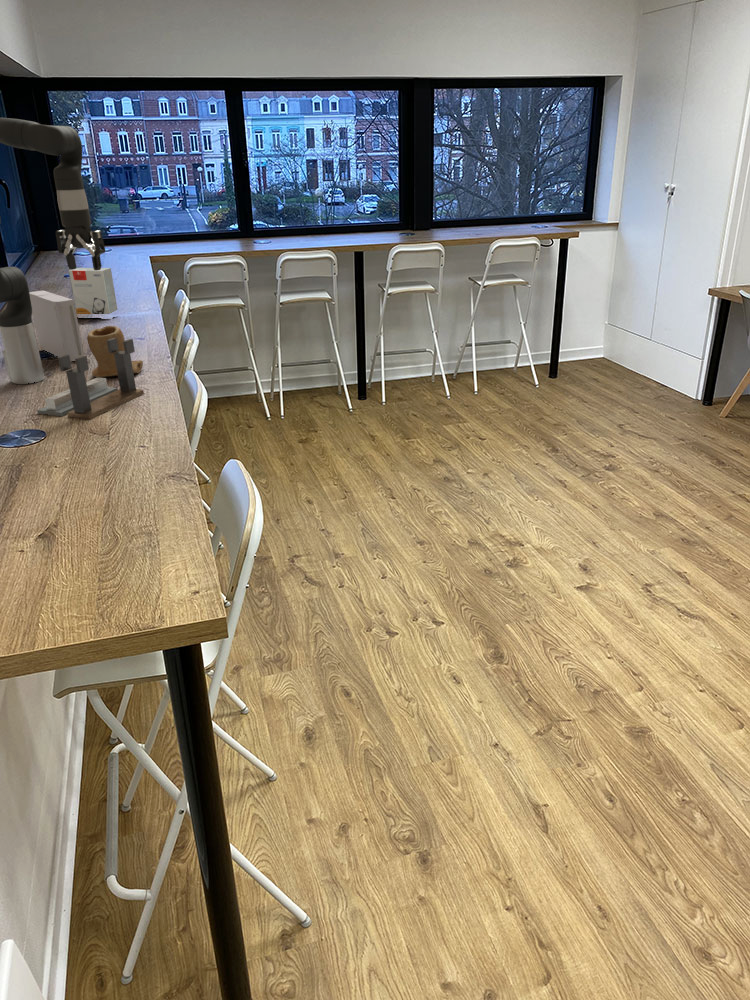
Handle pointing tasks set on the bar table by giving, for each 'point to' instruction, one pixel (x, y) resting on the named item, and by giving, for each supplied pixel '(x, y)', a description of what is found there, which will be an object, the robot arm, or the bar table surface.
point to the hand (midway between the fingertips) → (85, 269)
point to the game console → (56, 324)
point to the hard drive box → (93, 290)
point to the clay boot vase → (101, 353)
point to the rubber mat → (70, 407)
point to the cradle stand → (105, 403)
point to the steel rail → (65, 396)
